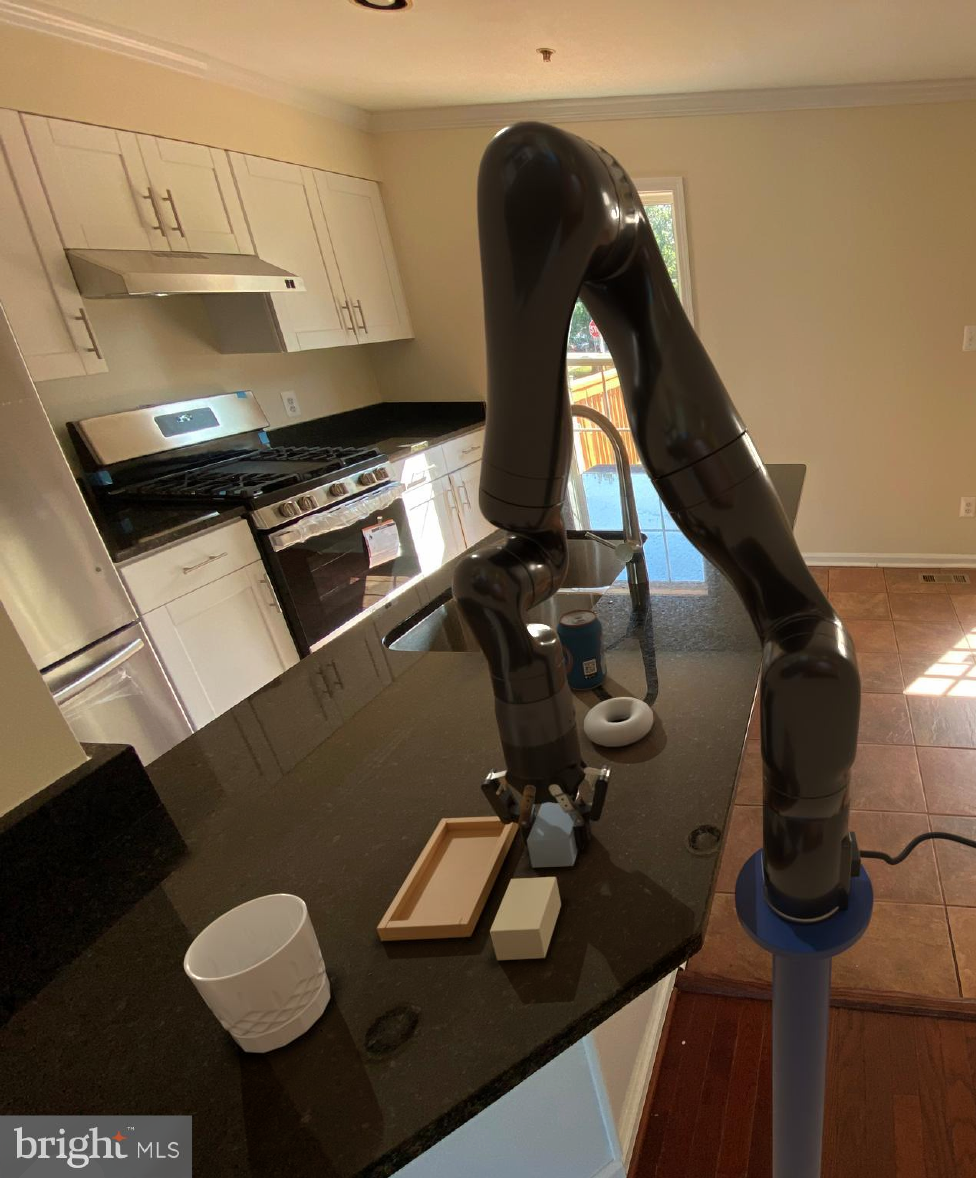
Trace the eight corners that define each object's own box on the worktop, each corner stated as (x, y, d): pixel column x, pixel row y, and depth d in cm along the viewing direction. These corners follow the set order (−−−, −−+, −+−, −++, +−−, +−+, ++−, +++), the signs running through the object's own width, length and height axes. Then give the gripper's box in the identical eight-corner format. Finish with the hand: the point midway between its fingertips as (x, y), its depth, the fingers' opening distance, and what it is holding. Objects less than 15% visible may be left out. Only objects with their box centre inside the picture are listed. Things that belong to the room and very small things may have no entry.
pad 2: (585, 826, 76) (581, 800, 74) (573, 866, 70) (568, 839, 69) (547, 827, 76) (542, 801, 74) (532, 867, 70) (526, 840, 69)
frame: (518, 826, 76) (516, 815, 75) (470, 936, 62) (467, 924, 62) (445, 829, 75) (441, 818, 75) (380, 941, 62) (376, 928, 61)
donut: (632, 704, 100) (572, 728, 94) (631, 685, 99) (570, 708, 92) (667, 733, 93) (605, 761, 87) (666, 713, 92) (602, 740, 86)
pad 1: (561, 904, 66) (556, 876, 64) (545, 958, 60) (538, 929, 59) (517, 906, 66) (511, 878, 64) (496, 960, 60) (489, 931, 59)
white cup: (275, 1074, 51) (233, 992, 47) (203, 1045, 53) (157, 965, 49) (360, 983, 58) (329, 905, 54) (293, 961, 60) (259, 884, 56)
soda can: (559, 677, 107) (549, 614, 102) (600, 666, 110) (592, 604, 105) (571, 697, 101) (561, 630, 97) (613, 684, 105) (606, 619, 100)
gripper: (452, 746, 62) (484, 873, 69) (599, 741, 63) (616, 868, 70) (481, 703, 69) (507, 823, 76) (613, 699, 70) (627, 818, 77)
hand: (559, 844), depth 73 cm, fingers closed on pad 2, 4 cm apart
